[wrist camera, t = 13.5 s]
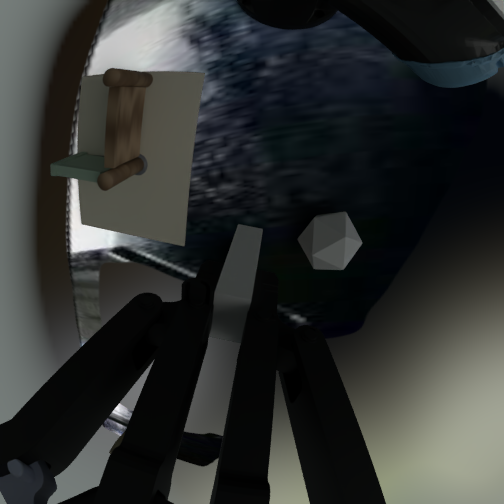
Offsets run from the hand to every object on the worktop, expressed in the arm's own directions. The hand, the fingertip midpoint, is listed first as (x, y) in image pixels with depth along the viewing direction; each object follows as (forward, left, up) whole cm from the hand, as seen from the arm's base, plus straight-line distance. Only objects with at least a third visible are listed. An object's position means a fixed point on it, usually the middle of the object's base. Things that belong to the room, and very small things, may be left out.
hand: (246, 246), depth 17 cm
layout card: (+2, -22, -24) cm, 33 cm away
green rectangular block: (+3, -27, -24) cm, 36 cm away
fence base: (-4, -20, -24) cm, 32 cm away
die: (+8, +11, -25) cm, 28 cm away
